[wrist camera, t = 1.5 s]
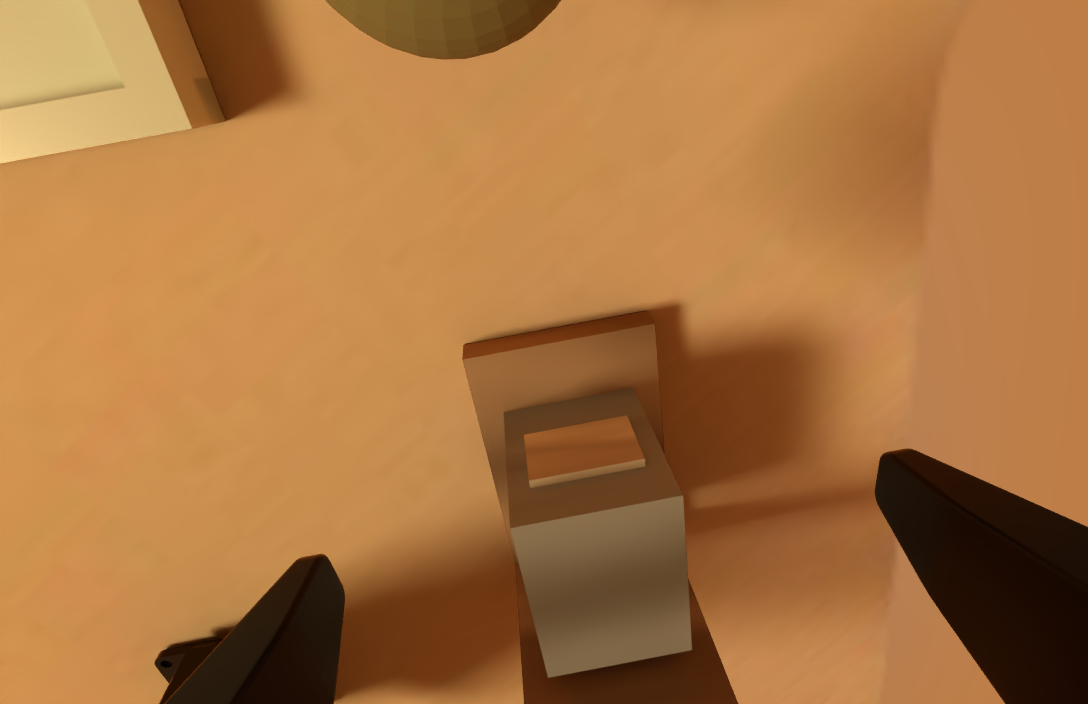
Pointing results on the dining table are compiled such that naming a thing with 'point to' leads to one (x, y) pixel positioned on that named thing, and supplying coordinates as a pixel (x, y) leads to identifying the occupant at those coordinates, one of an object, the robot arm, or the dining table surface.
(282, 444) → the dining table surface
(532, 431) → the bookend
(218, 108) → the tray
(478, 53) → the light bulb
